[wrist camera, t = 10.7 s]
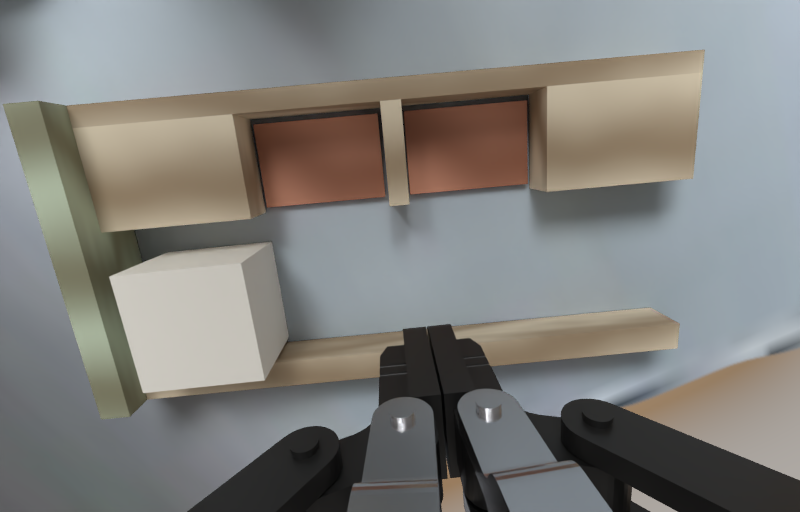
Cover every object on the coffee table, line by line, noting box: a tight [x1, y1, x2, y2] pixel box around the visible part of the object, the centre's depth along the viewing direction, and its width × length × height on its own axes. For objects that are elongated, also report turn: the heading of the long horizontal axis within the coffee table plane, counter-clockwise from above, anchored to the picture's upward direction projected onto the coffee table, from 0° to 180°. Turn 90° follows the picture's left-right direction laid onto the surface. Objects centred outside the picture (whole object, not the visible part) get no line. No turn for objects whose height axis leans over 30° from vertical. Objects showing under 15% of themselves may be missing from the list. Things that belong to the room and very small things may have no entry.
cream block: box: [109, 241, 289, 393], centre depth 21 cm, size 6×6×5 cm
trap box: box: [3, 50, 705, 419], centre depth 21 cm, size 16×32×4 cm, turn 95°
